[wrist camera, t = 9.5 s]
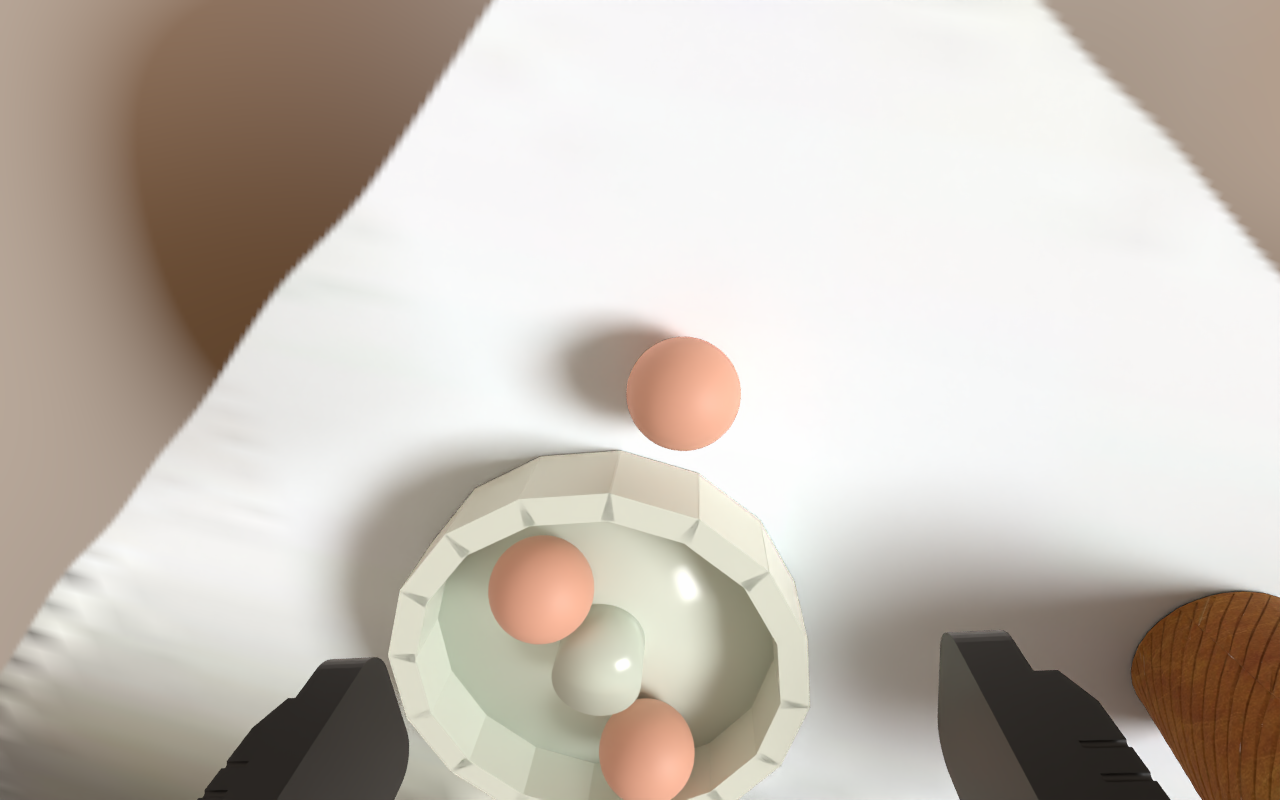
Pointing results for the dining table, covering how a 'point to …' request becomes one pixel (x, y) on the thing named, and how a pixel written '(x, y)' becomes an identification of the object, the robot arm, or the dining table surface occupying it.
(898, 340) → the dining table surface
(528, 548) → the bead
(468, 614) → the ring tray
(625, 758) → the salmon orange ball
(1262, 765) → the disposable coffee cup
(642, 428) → the peach orange ball
